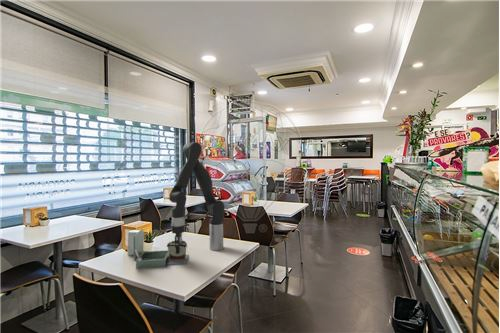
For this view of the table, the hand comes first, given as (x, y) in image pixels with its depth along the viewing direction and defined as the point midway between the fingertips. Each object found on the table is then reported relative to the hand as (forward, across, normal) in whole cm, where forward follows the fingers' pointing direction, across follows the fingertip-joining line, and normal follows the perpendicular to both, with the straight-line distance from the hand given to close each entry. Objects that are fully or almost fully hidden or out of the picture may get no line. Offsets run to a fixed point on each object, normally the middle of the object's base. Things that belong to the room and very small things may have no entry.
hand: (178, 251), depth 158 cm
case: (+5, -1, +14) cm, 15 cm away
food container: (+5, +2, 0) cm, 5 cm away
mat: (+6, 0, 0) cm, 6 cm away
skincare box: (+6, +16, +29) cm, 34 cm away
